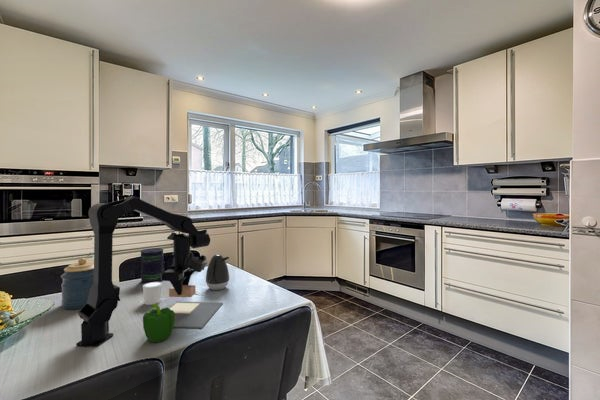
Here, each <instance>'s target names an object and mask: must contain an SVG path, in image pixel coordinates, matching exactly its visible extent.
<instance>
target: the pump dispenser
mask: <svg viewBox="0 0 600 400" xmlns="http://www.w3.org/2000/svg"><path fill="white" fill-rule="evenodd" d="M229 257H230V256H225V257H224V256H223V255H222V254H214V255H213V256H212V257H211V258H210V260H209V263H208V265H207V269H206V272H205V273H206V274H205V282H206V283H205V284H206V286H207V287H208V289H210V290H213V291H220V290H223V289H225V288H226V287H227V286H228V284H229V281H230V272H229V271H230V270H229V267H228V265H227V262H226V261H228V260H229V259H230V258H229Z"/></svg>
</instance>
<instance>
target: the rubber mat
mask: <svg viewBox="0 0 600 400" xmlns="http://www.w3.org/2000/svg"><path fill="white" fill-rule="evenodd" d="M223 304H224V303H223V302H215V301H213V302H211V301H210V302H209V301H208V302H207V301H176V302H175V303H174V304H173V305H171V306H170V307H168V308H169V309H170V310H173V311H174V313H175V321H174V326H173V329H174V328H175V329H203V328H204V327H205V325H206V324H207V323H208V322H209V321H210V320H211V318H213V316H214V315H215V314H216V312H218V310H219V309H220V308H221V306H222V305H223Z"/></svg>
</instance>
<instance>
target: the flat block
mask: <svg viewBox="0 0 600 400" xmlns="http://www.w3.org/2000/svg"><path fill="white" fill-rule="evenodd" d="M168 291H169V292H168V297H169V298H173V297H174V298H191V297H193V296H194V295H196V292H197V291H196V284H195V285H194V284H193V285H192V284H188V285H182V293H181V295H178V294H177V292H176V291H175V289H174V287H173V286H172V285H171V287H169V288H168Z"/></svg>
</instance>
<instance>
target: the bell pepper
mask: <svg viewBox="0 0 600 400" xmlns="http://www.w3.org/2000/svg"><path fill="white" fill-rule="evenodd" d="M150 307H151V308H152V309H151V310H150V311H148V312H145V313H144V314H143V317H142V324H143V325H142V326H143V331H144V334H145V337H146V338H147V339H148V340H149V341H150V342H151V343H161V342H164V341H165V340H166V339H167V338H168V337H170V336H171V335H172V333H173V331H174V330H173V329H174V328H173V326H174V321H175V313H174V311H173V310H170V309H169V308H170V307H164V308H162V309H161V308H160V306H159V305H158V303H157V304H151V305H150Z"/></svg>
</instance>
